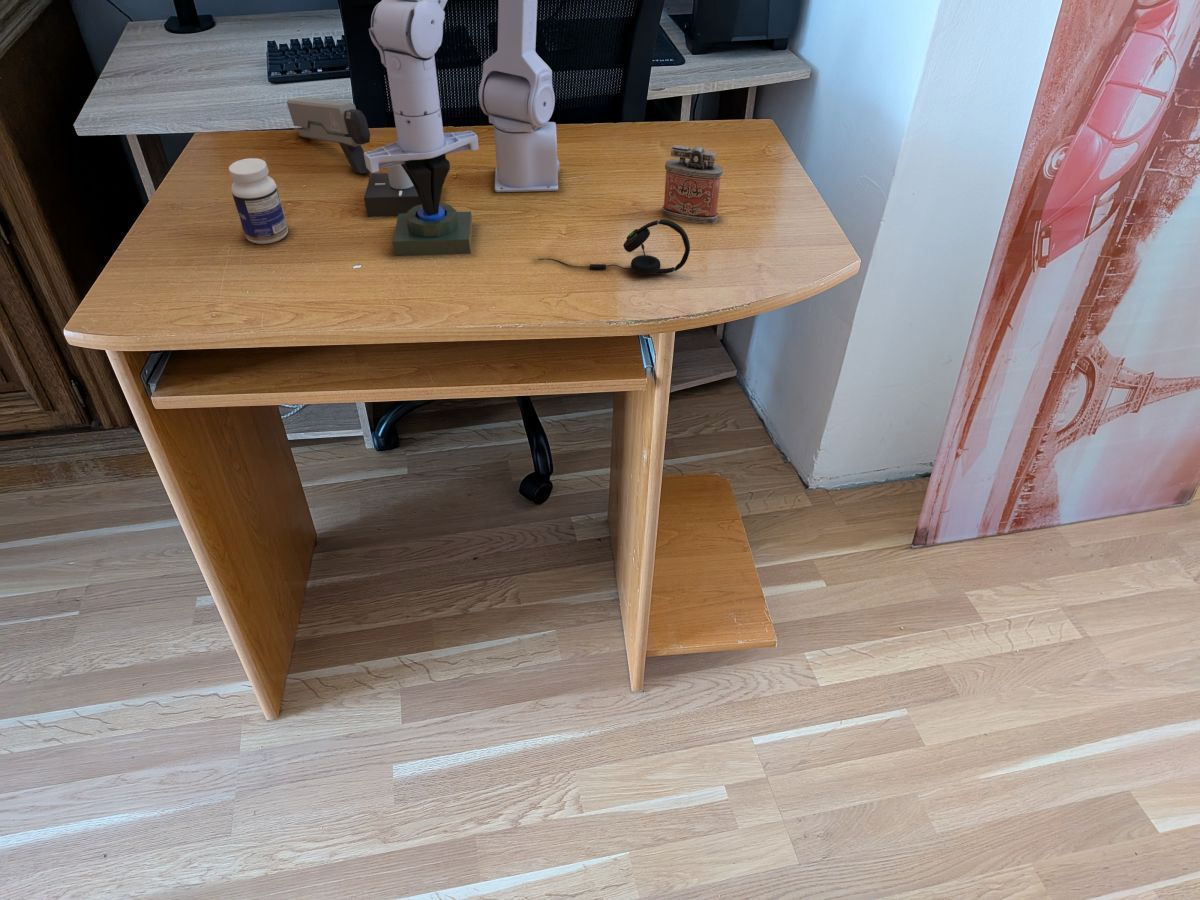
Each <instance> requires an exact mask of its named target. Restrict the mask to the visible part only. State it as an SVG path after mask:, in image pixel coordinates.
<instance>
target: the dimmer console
mask: <svg viewBox="0 0 1200 900" xmlns="http://www.w3.org/2000/svg"><path fill="white" fill-rule="evenodd" d="M442 191H443V190H442ZM442 191H441V193H442ZM441 198H442V194H441V195H440V201H439V203H441ZM363 200H364V205H365V210H366V215H367V216H366V217H367V218H378V217H379V218H384V217H398V214H402V213H407V211H409V210H410V209H412V208H413V207H414V206H418V205H421V201H420V198H419V196H418V193H417V191H416V189H415V187H414V186H412V187H410V188H407V189H395V188H392V187H391V186H390V183H389V177H388V172H384V173H383V172H381V173H378V172H374V173H370V176H369V180H368V181H367V186H366V189H365V194H364V197H363Z"/></svg>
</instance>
